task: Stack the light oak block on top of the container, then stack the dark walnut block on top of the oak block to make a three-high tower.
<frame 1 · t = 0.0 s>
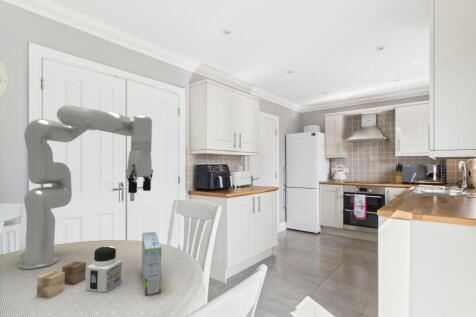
hand: (139, 191, 98), 31 cm above the table, tool pointing down, fingers open, 9 cm apart
oak block: (50, 293, 81), on the table
container: (104, 286, 86), on the table
snack box: (150, 281, 91), on the table
walnut block: (73, 281, 90), on the table
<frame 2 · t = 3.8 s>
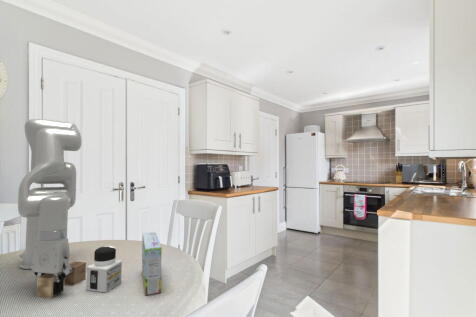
hand: (50, 291, 81), 1 cm above the table, tool pointing down, fingers closed on oak block, 5 cm apart
oak block: (50, 293, 81), on the table, touching gripper
everything else where it was.
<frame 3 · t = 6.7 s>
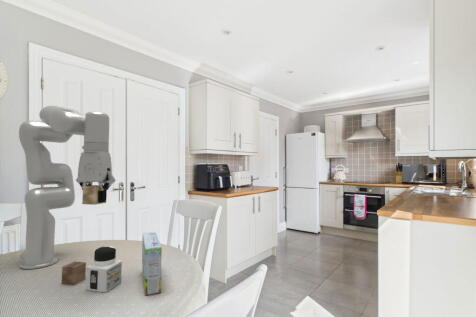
hand: (94, 201, 86), 29 cm above the table, tool pointing down, fingers closed on oak block, 5 cm apart
oak block: (94, 203, 86), point 28 cm above the table, touching gripper
everything else where it was.
when the fingers open (15 cm above the table, at t = 9.9 s): oak block drops 1 cm, resting on container.
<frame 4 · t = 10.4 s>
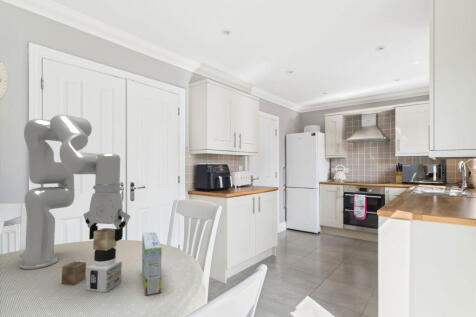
hand: (105, 239, 87), 16 cm above the table, tool pointing down, fingers open, 9 cm apart
oak block: (105, 247, 87), point 13 cm above the table, touching container
container: (104, 286, 86), on the table, touching oak block
everything else where it was.
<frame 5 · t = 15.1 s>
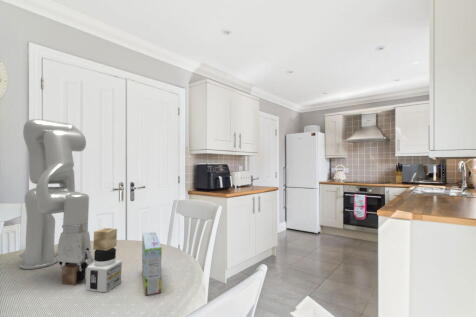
hand: (73, 279, 90), 1 cm above the table, tool pointing down, fingers closed on walnut block, 5 cm apart
walnut block: (73, 281, 90), on the table, touching gripper
everything else where it was.
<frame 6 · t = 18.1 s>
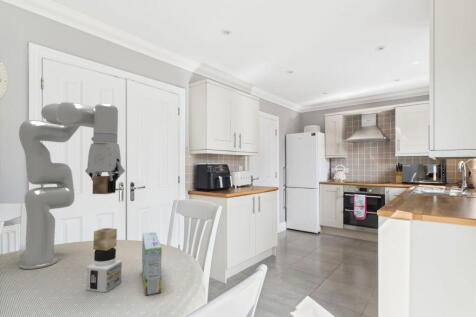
hand: (104, 191, 88), 32 cm above the table, tool pointing down, fingers closed on walnut block, 5 cm apart
walnut block: (104, 193, 88), point 31 cm above the table, touching gripper
everything else where it was.
when the fingers open (21 cm above the table, at t = 21.1 s): walnut block drops 1 cm, resting on oak block.
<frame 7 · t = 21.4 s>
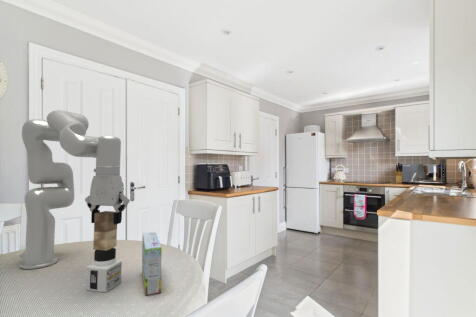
hand: (106, 222, 87), 21 cm above the table, tool pointing down, fingers open, 8 cm apart
oak block: (105, 247, 87), point 13 cm above the table, touching container, walnut block
walnut block: (105, 230, 87), point 19 cm above the table, touching oak block
everything else where it was.
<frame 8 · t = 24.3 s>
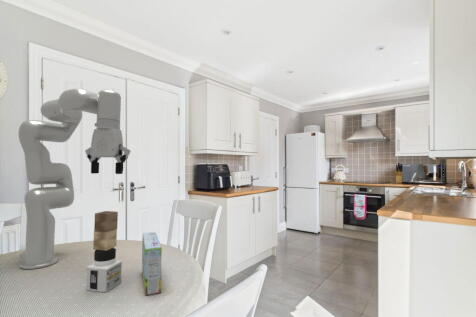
hand: (106, 173, 90), 38 cm above the table, tool pointing down, fingers open, 9 cm apart
nothing on the table moved.
at the end: oak block 0.1 cm off-centre on the container, point 13.2 cm above the container's base; walnut block inside the target area on the container (0.0 cm from its centre), point 19.2 cm above the container's base; walnut block tilted 0° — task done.
